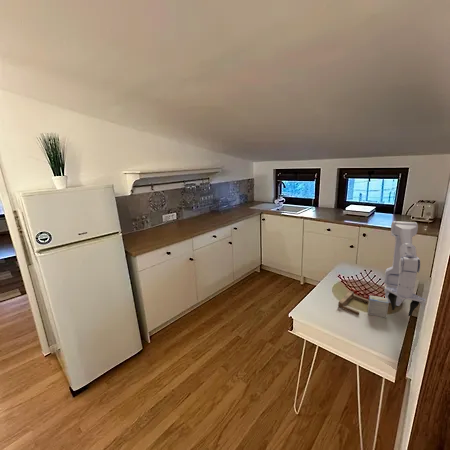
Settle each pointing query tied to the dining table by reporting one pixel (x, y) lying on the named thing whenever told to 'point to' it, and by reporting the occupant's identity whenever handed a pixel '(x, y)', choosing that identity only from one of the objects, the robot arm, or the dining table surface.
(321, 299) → the dining table surface
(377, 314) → the medicine box
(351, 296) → the end stop
